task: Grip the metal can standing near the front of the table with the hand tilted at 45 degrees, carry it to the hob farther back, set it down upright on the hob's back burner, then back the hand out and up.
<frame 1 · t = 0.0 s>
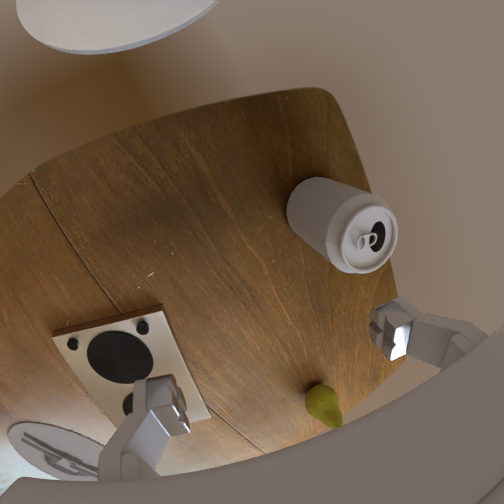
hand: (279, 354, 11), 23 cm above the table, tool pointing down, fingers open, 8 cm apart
can: (312, 206, 35), on the table
plate: (66, 458, 42), on the table
fruit: (313, 388, 48), on the table
hob: (136, 379, 38), on the table
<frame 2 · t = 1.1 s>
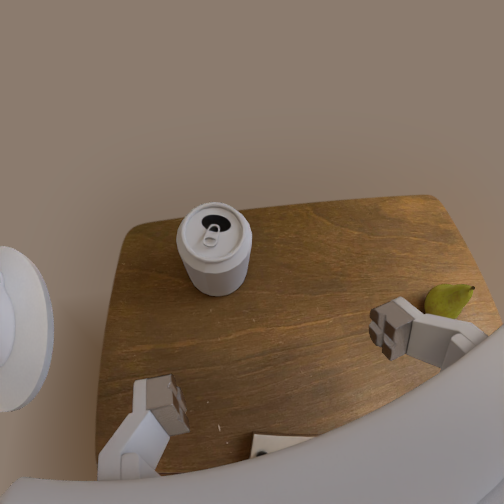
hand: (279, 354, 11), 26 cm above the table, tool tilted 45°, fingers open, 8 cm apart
can: (217, 270, 39), on the table
fruit: (430, 308, 39), on the table
hob: (328, 486, 29), on the table
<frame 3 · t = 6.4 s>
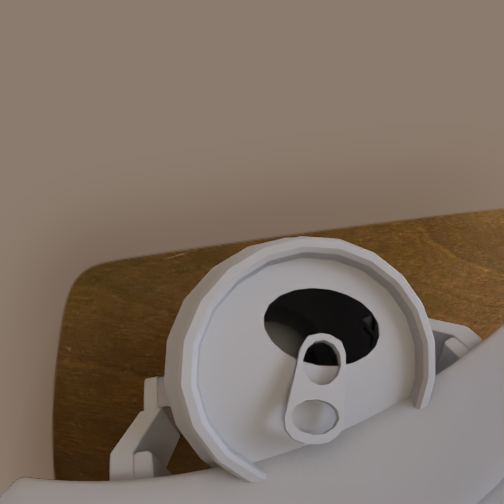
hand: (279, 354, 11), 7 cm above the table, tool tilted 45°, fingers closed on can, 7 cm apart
can: (266, 368, 17), on the table, touching gripper
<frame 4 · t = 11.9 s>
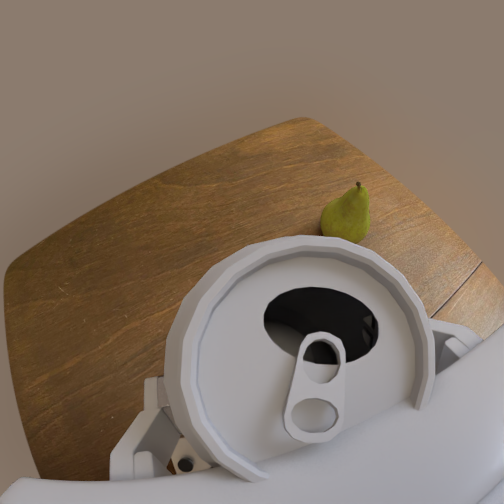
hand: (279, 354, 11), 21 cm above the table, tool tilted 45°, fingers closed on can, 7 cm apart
can: (266, 367, 17), point 14 cm above the table, touching gripper
fruit: (335, 235, 37), on the table
hob: (288, 477, 25), on the table
when the fingers open (8 cm above the table, at t = 17.5 s): can stays where it is, resting on hob.
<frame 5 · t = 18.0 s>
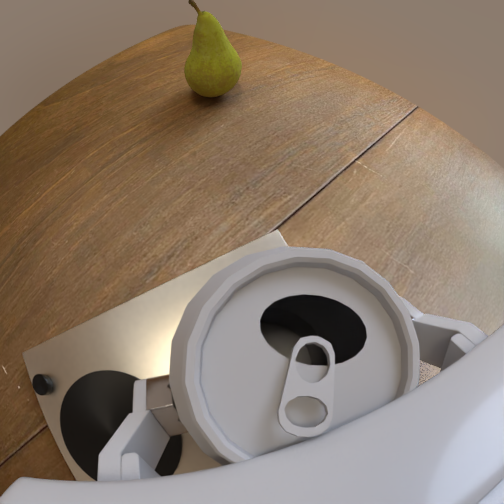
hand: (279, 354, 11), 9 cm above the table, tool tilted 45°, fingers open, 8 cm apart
can: (264, 368, 18), point 2 cm above the table, touching hob
fruit: (213, 93, 29), on the table
hob: (190, 403, 18), on the table
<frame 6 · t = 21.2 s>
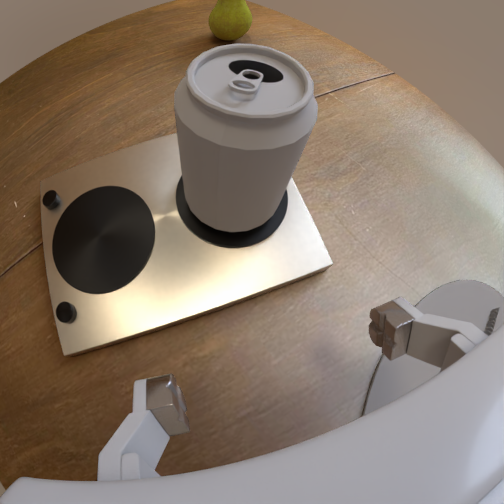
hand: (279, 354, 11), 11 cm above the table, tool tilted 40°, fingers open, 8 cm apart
can: (232, 194, 24), point 2 cm above the table, touching hob
plate: (468, 407, 22), on the table
fruit: (227, 39, 34), on the table
hob: (168, 223, 24), on the table
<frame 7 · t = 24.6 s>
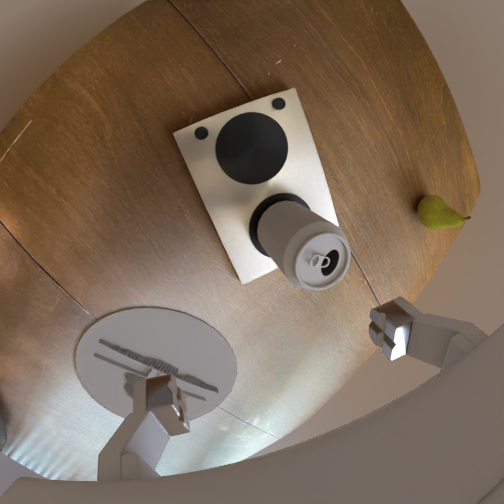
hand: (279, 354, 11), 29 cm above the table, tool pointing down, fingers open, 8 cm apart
can: (282, 226, 39), point 2 cm above the table, touching hob
plate: (155, 375, 46), on the table
fruit: (420, 206, 47), on the table
hob: (264, 186, 38), on the table
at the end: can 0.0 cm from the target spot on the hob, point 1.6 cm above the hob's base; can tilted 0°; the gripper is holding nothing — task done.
